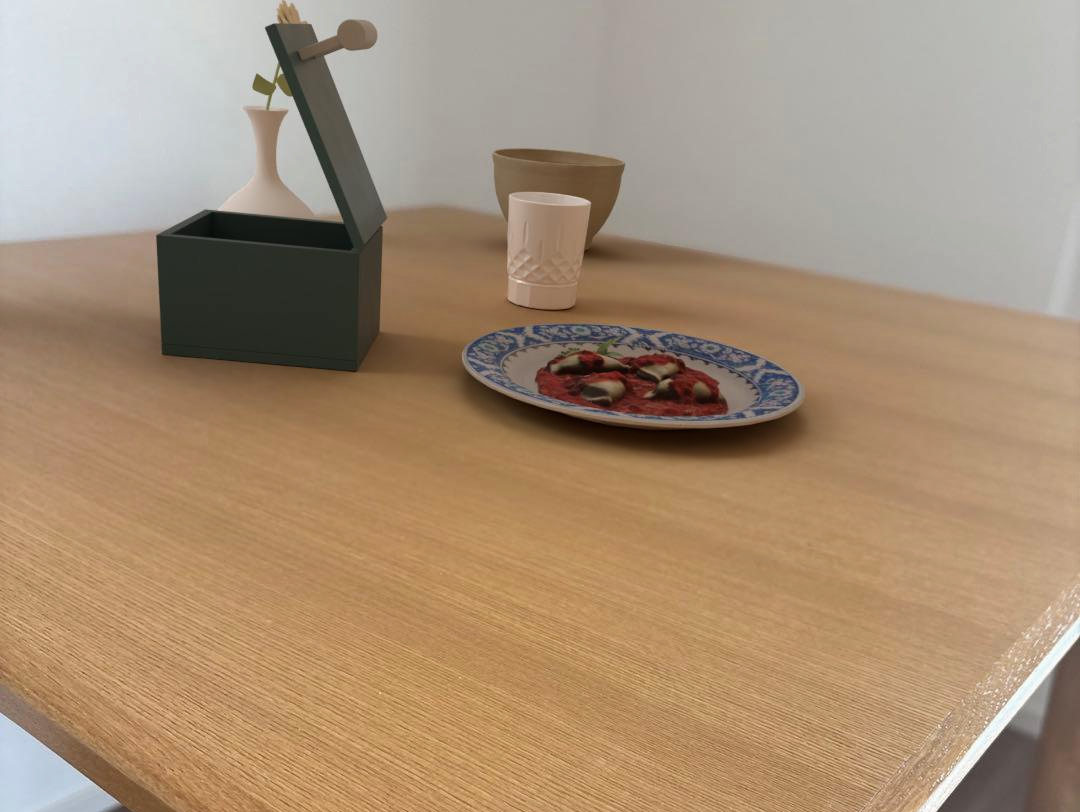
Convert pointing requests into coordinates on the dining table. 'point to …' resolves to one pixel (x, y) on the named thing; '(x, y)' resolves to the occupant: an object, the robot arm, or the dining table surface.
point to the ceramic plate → (633, 376)
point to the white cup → (545, 248)
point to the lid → (331, 117)
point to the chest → (268, 290)
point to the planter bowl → (560, 179)
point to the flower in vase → (269, 150)
